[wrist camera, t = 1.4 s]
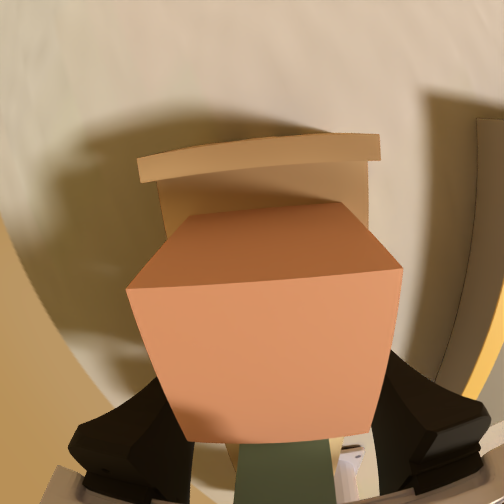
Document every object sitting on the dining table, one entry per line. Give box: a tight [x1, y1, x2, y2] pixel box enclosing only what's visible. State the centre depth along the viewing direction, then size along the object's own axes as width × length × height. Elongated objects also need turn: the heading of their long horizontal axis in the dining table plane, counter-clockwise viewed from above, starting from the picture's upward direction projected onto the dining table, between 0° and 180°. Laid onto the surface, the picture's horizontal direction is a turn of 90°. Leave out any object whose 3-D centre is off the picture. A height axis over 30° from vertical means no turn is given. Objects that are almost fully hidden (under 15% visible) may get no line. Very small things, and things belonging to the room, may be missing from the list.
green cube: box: [233, 439, 337, 504], centre depth 10 cm, size 4×4×4 cm
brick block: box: [126, 202, 403, 444], centre depth 7 cm, size 4×4×4 cm
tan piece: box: [137, 133, 381, 484], centre depth 12 cm, size 18×6×6 cm, turn 6°
